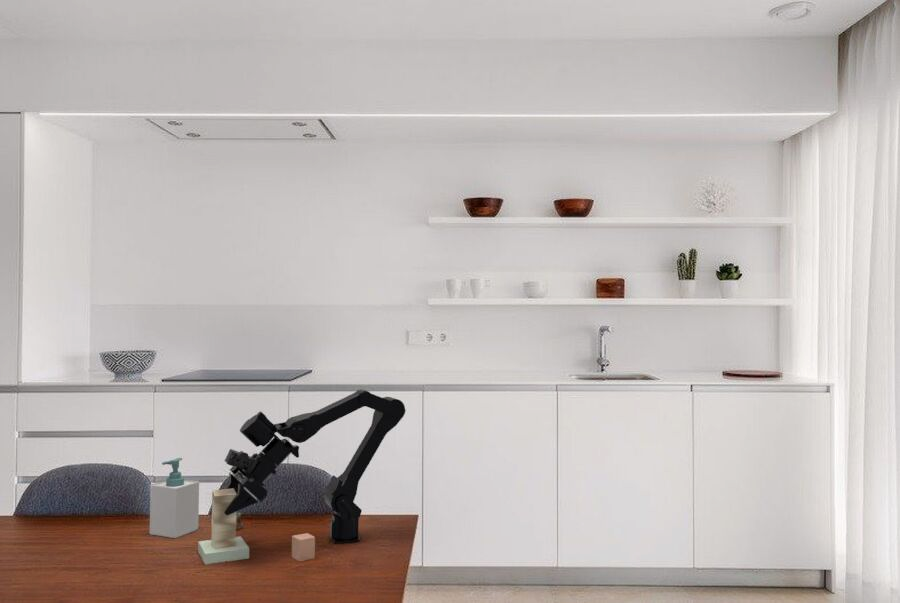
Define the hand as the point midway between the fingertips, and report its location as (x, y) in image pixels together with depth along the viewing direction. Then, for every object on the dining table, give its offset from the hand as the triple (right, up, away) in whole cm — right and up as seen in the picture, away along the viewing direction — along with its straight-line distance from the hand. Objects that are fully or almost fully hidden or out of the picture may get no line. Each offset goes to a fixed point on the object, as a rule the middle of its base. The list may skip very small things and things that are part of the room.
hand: (222, 509), depth 174 cm
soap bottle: (-18, -11, +17) cm, 27 cm away
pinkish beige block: (+19, -11, -1) cm, 23 cm away
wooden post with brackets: (-4, -12, +18) cm, 22 cm away
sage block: (0, -12, 0) cm, 12 cm away
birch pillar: (0, -8, 0) cm, 8 cm away
